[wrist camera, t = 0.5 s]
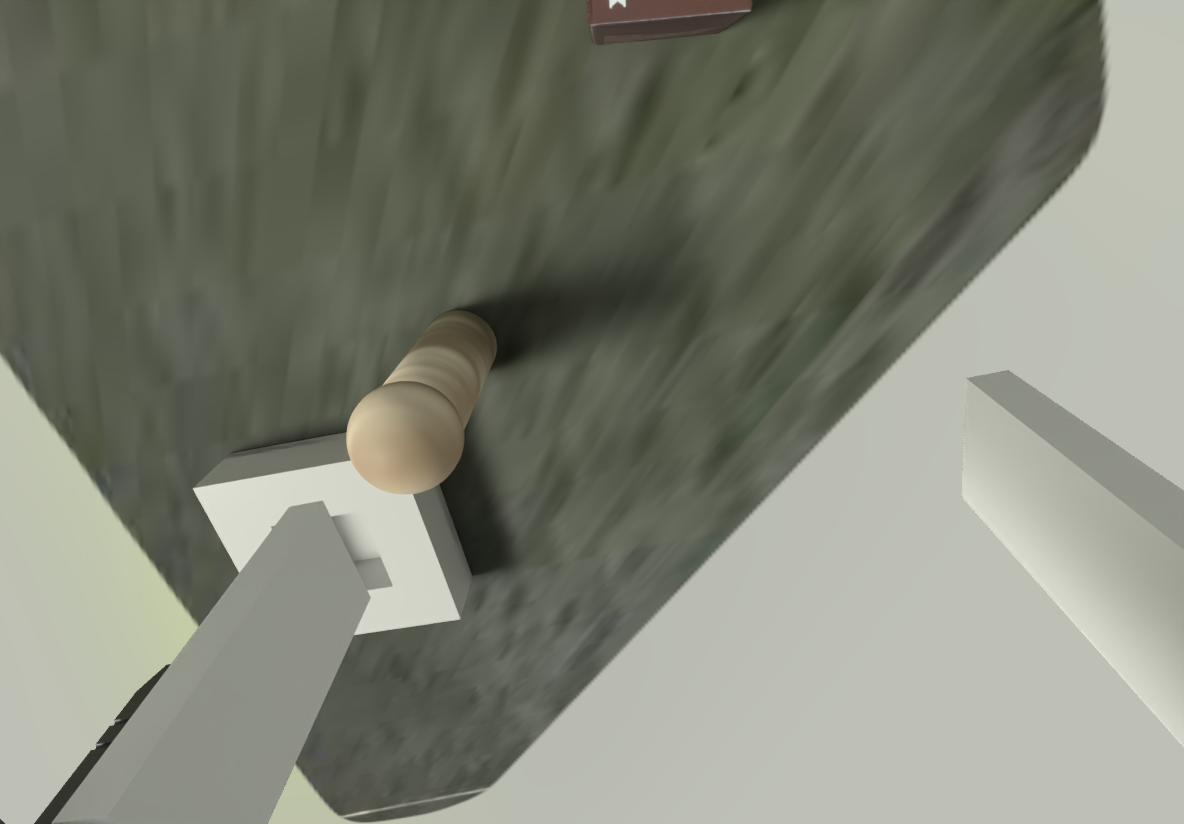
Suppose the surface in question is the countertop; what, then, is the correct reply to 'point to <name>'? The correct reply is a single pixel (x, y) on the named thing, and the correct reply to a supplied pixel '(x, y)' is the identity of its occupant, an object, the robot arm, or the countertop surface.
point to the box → (660, 18)
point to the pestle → (423, 407)
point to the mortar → (346, 526)
